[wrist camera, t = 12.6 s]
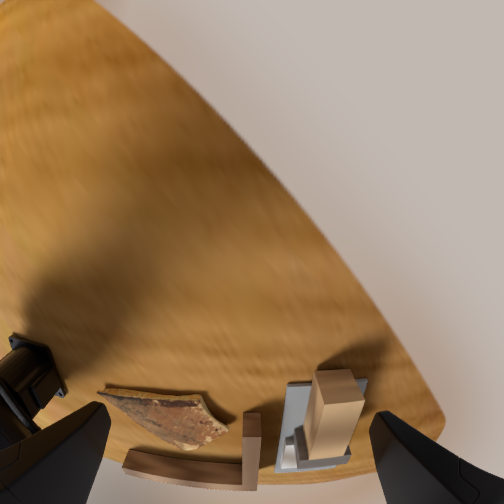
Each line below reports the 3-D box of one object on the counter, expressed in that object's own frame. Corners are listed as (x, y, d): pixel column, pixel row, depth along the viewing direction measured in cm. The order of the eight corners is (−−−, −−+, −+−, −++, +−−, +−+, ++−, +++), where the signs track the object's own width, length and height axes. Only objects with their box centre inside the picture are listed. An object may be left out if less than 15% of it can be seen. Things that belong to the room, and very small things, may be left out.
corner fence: (132, 456, 24) (125, 473, 21) (107, 395, 22) (95, 415, 19) (256, 470, 24) (256, 490, 21) (260, 412, 22) (261, 437, 19)
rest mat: (274, 470, 24) (274, 473, 24) (287, 384, 21) (287, 387, 21) (334, 465, 24) (335, 467, 24) (366, 378, 21) (367, 380, 21)
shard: (101, 383, 22) (94, 394, 20) (140, 341, 21) (133, 352, 19) (188, 444, 24) (185, 456, 22) (238, 413, 22) (237, 427, 21)
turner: (295, 371, 20) (302, 406, 16) (366, 367, 20) (383, 397, 16) (280, 461, 23) (283, 490, 19) (335, 456, 23) (342, 484, 19)
